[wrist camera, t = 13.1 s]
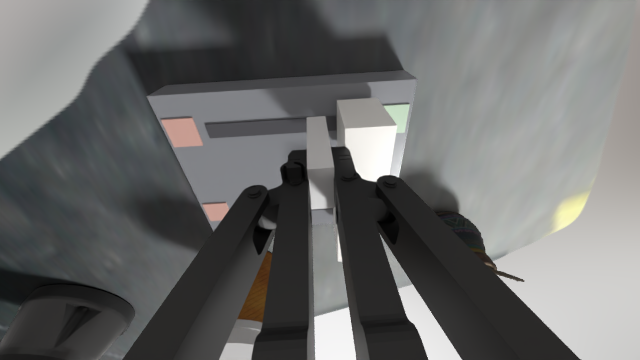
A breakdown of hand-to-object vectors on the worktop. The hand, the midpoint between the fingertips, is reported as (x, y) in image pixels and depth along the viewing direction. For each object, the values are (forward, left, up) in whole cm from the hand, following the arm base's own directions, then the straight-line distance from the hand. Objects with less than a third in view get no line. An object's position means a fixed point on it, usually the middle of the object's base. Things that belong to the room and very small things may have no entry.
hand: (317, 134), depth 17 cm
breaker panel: (-2, -5, -5) cm, 7 cm away
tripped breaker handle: (+3, 0, -2) cm, 4 cm away
